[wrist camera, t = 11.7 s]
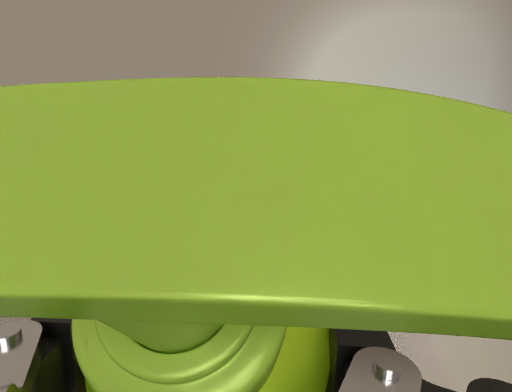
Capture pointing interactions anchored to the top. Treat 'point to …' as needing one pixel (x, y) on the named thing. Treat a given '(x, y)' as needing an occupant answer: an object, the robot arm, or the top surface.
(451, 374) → the top surface
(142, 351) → the soap dispenser
